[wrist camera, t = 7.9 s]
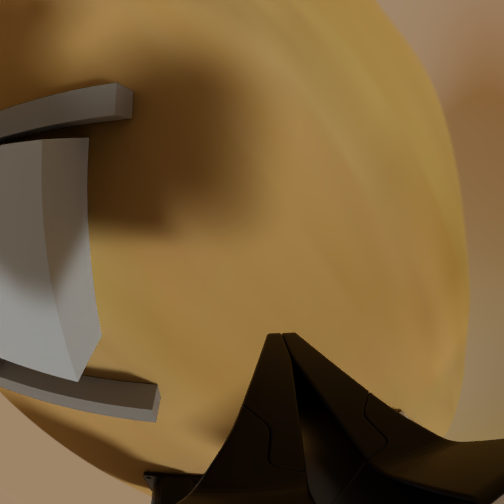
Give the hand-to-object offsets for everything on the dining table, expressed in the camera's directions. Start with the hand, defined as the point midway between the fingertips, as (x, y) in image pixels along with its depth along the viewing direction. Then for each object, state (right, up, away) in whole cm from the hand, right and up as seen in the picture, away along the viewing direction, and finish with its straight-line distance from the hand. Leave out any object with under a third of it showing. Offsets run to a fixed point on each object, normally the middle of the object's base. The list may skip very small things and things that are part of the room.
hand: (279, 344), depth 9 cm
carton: (-13, +3, +3) cm, 14 cm away
